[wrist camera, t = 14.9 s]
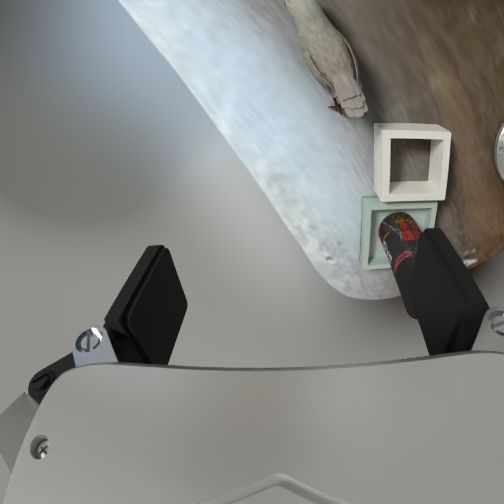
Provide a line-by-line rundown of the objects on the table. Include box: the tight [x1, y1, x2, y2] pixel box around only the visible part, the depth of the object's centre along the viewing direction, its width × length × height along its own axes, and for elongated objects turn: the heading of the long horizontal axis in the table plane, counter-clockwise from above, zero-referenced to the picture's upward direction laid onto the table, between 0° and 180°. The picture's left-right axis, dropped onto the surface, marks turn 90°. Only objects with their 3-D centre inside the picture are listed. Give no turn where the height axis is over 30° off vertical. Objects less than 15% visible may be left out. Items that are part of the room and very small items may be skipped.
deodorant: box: [378, 212, 421, 319], centre depth 37 cm, size 6×6×15 cm
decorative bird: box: [284, 0, 368, 117], centre depth 28 cm, size 5×16×8 cm, turn 27°
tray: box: [360, 196, 438, 270], centre depth 42 cm, size 11×11×2 cm
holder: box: [374, 123, 451, 202], centre depth 35 cm, size 9×9×4 cm
